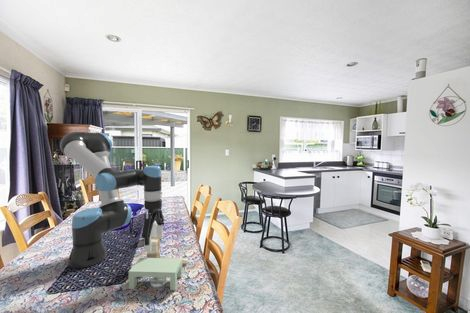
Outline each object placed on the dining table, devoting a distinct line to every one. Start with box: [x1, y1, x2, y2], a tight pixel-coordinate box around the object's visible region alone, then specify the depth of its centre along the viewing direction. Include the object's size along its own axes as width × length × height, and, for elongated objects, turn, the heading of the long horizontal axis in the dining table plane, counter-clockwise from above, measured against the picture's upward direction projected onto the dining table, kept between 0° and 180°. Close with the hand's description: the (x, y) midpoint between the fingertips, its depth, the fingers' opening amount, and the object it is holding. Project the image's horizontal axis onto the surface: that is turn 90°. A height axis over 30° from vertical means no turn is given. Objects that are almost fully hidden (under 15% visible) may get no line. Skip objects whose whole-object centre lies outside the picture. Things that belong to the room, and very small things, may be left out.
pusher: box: [146, 237, 189, 267], centre depth 102 cm, size 4×18×11 cm, turn 88°
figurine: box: [150, 221, 164, 237], centre depth 128 cm, size 10×10×12 cm
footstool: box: [128, 257, 183, 291], centre depth 88 cm, size 18×10×7 cm, turn 88°
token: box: [150, 277, 167, 289], centre depth 88 cm, size 6×6×2 cm
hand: (154, 244), depth 102 cm, fingers open, 13 cm apart
